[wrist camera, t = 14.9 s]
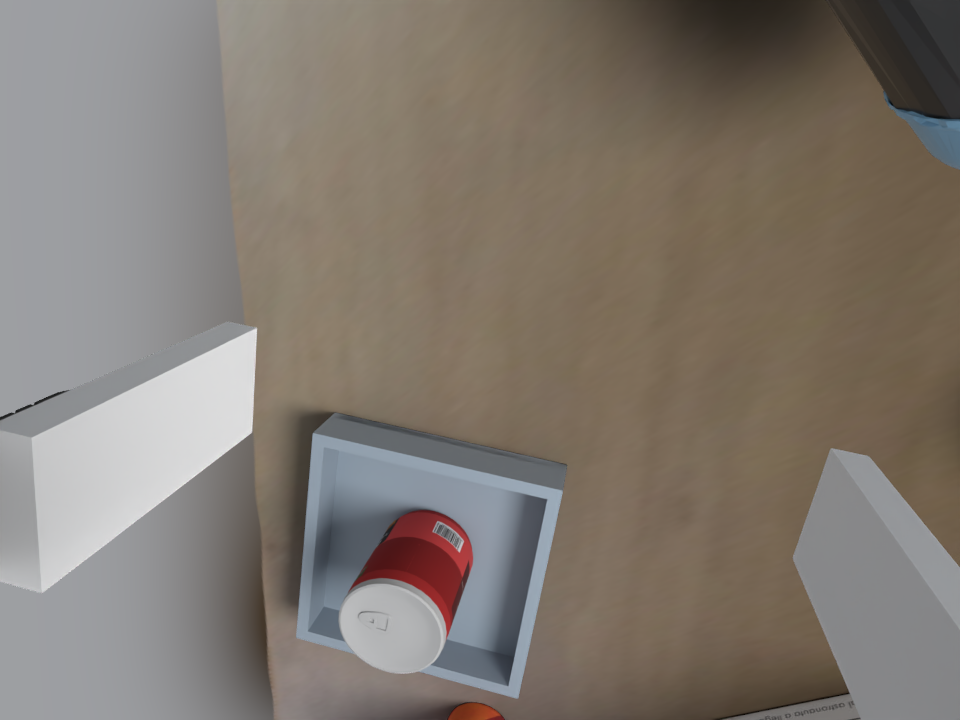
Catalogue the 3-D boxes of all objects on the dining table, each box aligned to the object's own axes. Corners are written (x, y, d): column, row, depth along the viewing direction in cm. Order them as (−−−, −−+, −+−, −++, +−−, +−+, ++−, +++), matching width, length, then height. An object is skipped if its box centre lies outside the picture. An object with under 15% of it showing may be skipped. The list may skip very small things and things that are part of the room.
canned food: (381, 504, 59) (330, 580, 48) (472, 508, 57) (440, 587, 47) (390, 582, 61) (343, 670, 50) (478, 587, 59) (448, 680, 49)
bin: (335, 412, 58) (312, 433, 54) (567, 464, 55) (563, 490, 51) (317, 605, 64) (296, 637, 60) (524, 661, 62) (518, 698, 57)
